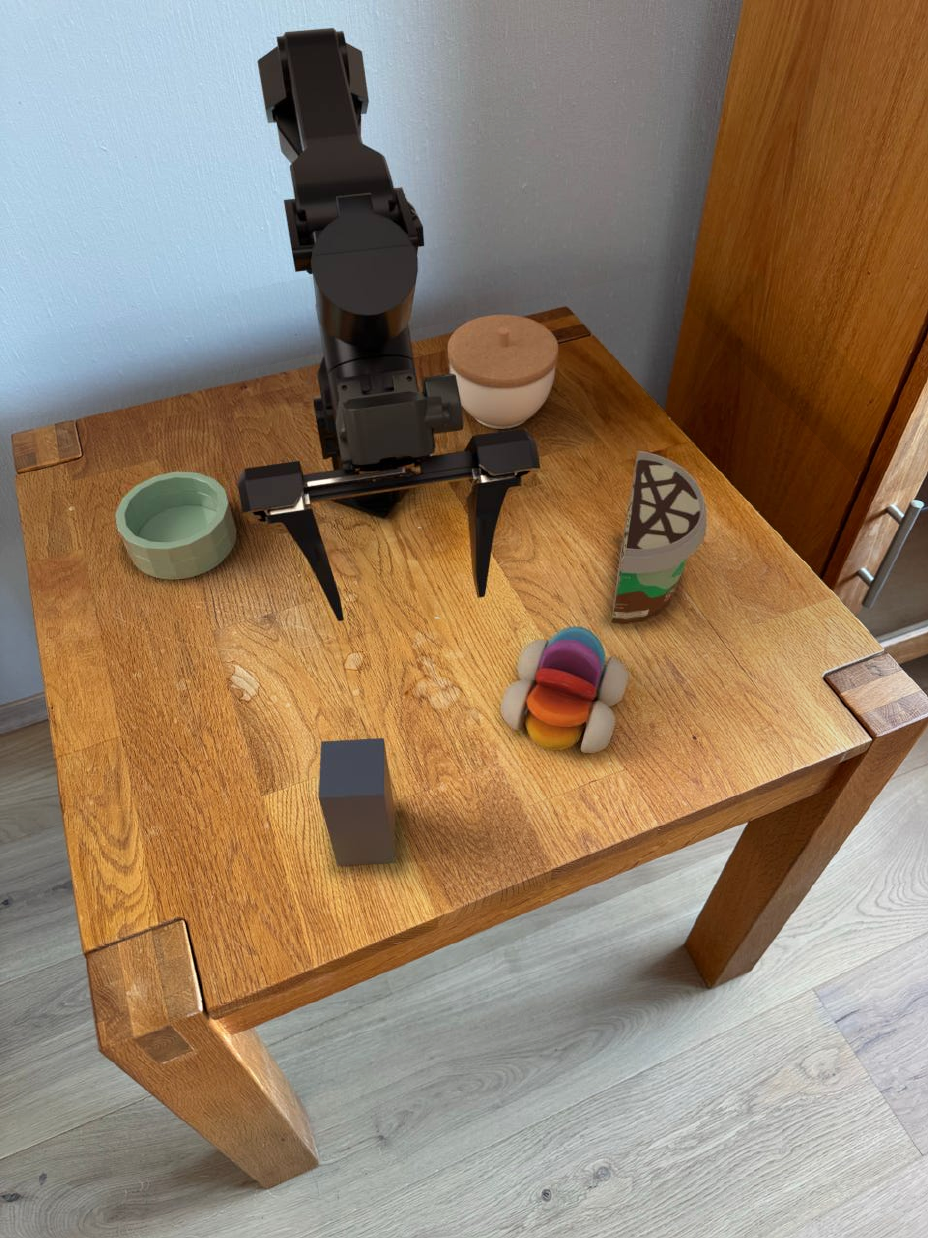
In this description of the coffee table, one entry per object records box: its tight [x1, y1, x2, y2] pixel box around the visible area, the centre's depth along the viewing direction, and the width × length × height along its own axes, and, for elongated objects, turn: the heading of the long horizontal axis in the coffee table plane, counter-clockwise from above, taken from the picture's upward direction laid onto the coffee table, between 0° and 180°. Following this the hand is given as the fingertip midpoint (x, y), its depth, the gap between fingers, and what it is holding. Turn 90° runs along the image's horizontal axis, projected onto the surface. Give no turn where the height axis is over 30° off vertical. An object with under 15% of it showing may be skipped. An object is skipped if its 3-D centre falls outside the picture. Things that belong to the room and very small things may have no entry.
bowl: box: [115, 470, 238, 581], centre depth 82 cm, size 10×10×4 cm
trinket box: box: [447, 314, 559, 430], centre depth 91 cm, size 11×11×9 cm
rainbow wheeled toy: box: [500, 626, 630, 754], centre depth 68 cm, size 8×10×7 cm
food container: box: [610, 450, 708, 625], centre depth 75 cm, size 12×6×10 cm, turn 168°
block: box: [317, 737, 396, 867], centre depth 61 cm, size 4×4×10 cm
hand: (411, 608), depth 59 cm, fingers open, 9 cm apart
